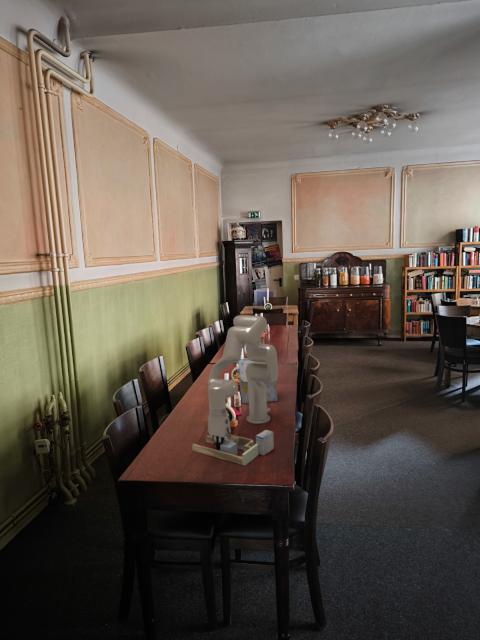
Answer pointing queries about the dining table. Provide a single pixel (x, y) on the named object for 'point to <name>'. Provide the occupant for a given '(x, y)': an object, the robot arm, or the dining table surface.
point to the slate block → (229, 447)
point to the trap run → (224, 455)
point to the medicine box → (265, 442)
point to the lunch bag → (270, 386)
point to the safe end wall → (250, 454)
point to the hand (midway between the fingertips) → (219, 449)
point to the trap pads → (239, 446)
